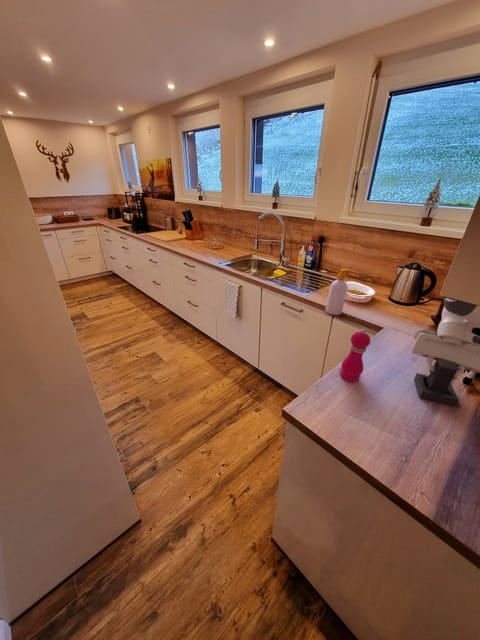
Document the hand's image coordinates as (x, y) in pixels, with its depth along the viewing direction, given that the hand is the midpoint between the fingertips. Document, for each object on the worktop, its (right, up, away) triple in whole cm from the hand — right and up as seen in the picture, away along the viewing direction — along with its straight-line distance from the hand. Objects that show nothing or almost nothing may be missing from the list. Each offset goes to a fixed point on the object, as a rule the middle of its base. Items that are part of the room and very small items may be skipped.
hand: (442, 375), depth 85 cm
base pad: (0, -7, +4) cm, 8 cm away
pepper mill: (-26, -3, +10) cm, 28 cm away
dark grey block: (0, -4, +3) cm, 5 cm away
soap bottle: (-15, +22, +57) cm, 63 cm away
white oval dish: (+5, +33, +78) cm, 85 cm away
